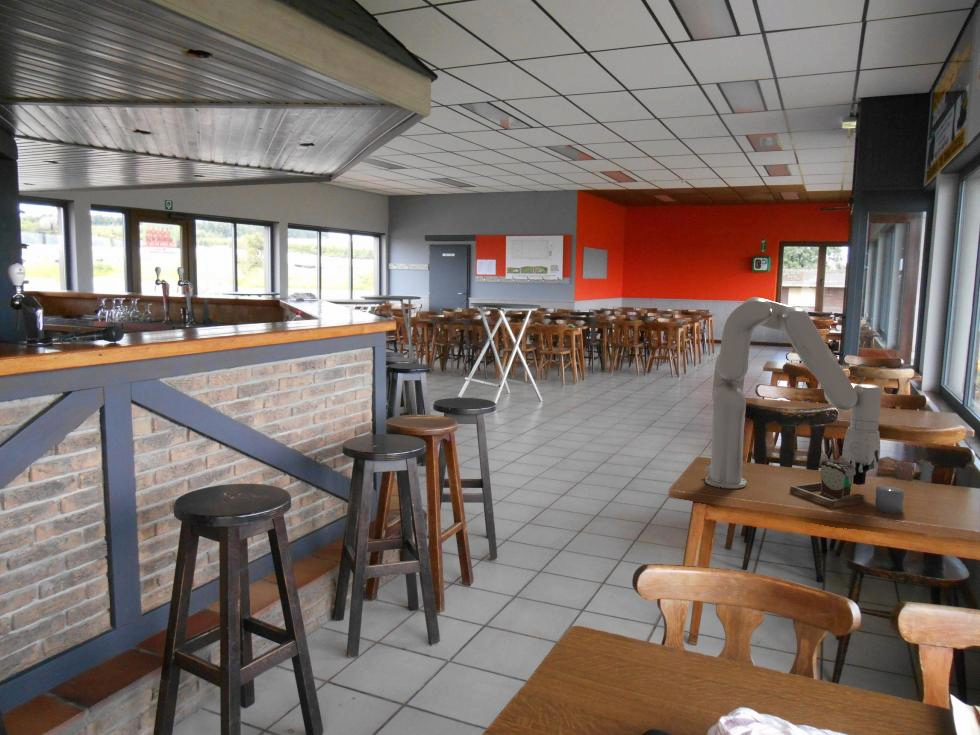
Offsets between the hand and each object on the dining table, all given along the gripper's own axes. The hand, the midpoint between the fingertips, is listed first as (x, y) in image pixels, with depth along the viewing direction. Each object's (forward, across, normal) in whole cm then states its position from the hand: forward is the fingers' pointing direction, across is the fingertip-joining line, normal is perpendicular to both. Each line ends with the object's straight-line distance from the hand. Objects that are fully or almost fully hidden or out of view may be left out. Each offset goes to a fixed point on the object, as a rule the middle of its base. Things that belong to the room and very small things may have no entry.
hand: (858, 483), depth 222 cm
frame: (+3, 0, -13) cm, 14 cm away
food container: (+3, +1, -8) cm, 9 cm away
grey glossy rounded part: (+3, +15, -5) cm, 17 cm away
